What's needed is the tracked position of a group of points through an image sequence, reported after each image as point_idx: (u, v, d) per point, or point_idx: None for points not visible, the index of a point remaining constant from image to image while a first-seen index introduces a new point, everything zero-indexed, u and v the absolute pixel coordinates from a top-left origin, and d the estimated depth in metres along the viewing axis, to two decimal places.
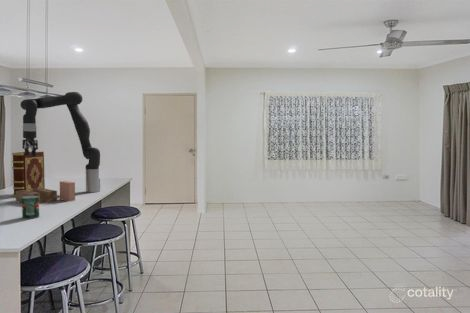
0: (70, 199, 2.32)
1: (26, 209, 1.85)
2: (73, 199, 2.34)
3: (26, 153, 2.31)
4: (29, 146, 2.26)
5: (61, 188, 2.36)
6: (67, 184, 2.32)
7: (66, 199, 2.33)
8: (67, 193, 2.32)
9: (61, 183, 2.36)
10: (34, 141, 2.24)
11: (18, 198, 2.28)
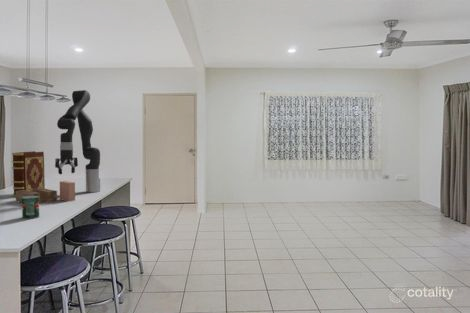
0: (70, 199, 2.32)
1: (26, 209, 1.85)
2: (73, 199, 2.34)
3: None
4: (71, 164, 2.36)
5: (61, 188, 2.36)
6: (67, 184, 2.32)
7: (66, 199, 2.33)
8: (67, 193, 2.32)
9: (61, 183, 2.36)
10: None
11: (18, 198, 2.28)
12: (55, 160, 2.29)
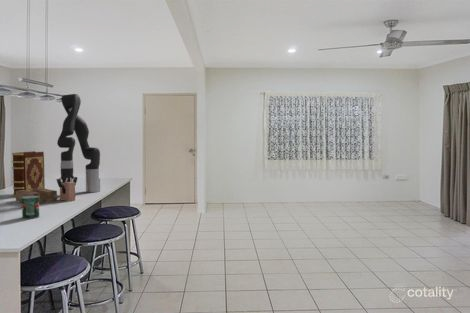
0: (70, 199, 2.32)
1: (26, 209, 1.85)
2: (73, 199, 2.34)
3: None
4: None
5: (61, 188, 2.36)
6: (67, 184, 2.32)
7: (66, 199, 2.33)
8: (67, 193, 2.32)
9: None
10: None
11: (18, 198, 2.28)
12: None
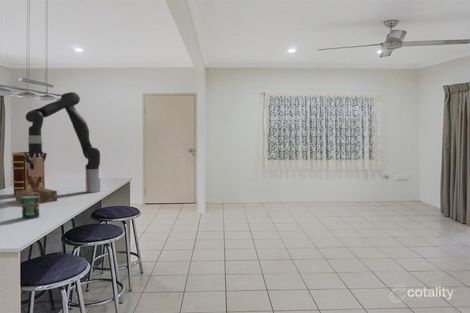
0: (38, 175, 2.26)
1: (26, 209, 1.85)
2: (41, 175, 2.28)
3: None
4: None
5: (29, 164, 2.30)
6: (34, 159, 2.26)
7: (34, 175, 2.27)
8: (35, 169, 2.26)
9: (29, 159, 2.30)
10: None
11: (18, 198, 2.28)
12: (24, 156, 2.25)
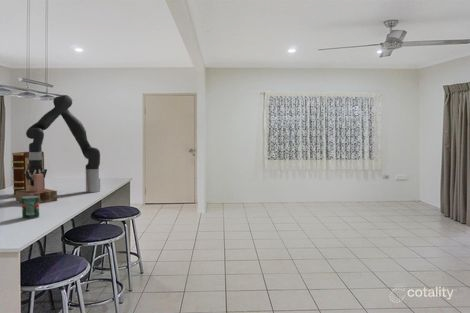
0: (38, 191, 2.27)
1: (26, 209, 1.85)
2: (42, 191, 2.29)
3: None
4: None
5: None
6: (35, 176, 2.27)
7: (34, 191, 2.28)
8: (36, 185, 2.27)
9: None
10: None
11: (18, 198, 2.28)
12: None
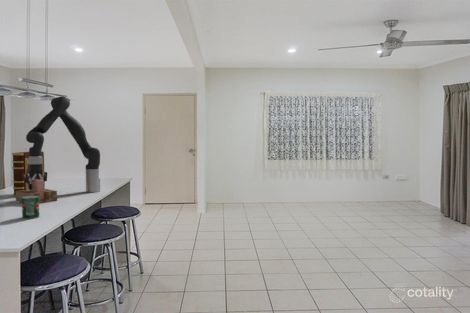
0: None
1: (26, 209, 1.85)
2: (42, 198, 2.29)
3: None
4: (40, 178, 2.31)
5: None
6: (35, 182, 2.27)
7: None
8: None
9: None
10: None
11: (18, 198, 2.28)
12: (24, 176, 2.25)
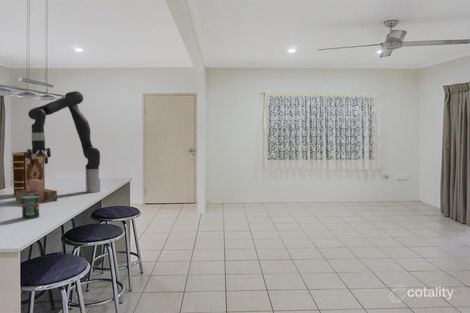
0: None
1: (26, 209, 1.85)
2: (42, 198, 2.29)
3: None
4: (44, 154, 2.33)
5: (30, 186, 2.31)
6: (35, 182, 2.27)
7: None
8: None
9: (30, 181, 2.31)
10: None
11: (18, 198, 2.28)
12: (27, 151, 2.27)
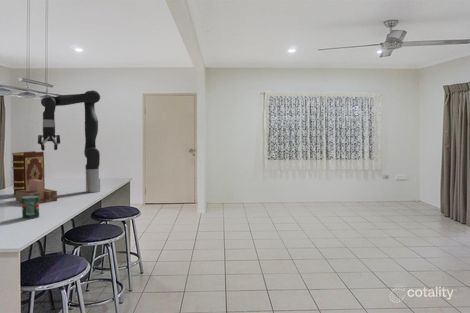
0: None
1: (26, 209, 1.85)
2: (42, 198, 2.29)
3: None
4: (54, 141, 2.45)
5: (30, 186, 2.31)
6: (35, 182, 2.27)
7: None
8: None
9: (30, 181, 2.31)
10: None
11: (18, 198, 2.28)
12: (38, 137, 2.38)
